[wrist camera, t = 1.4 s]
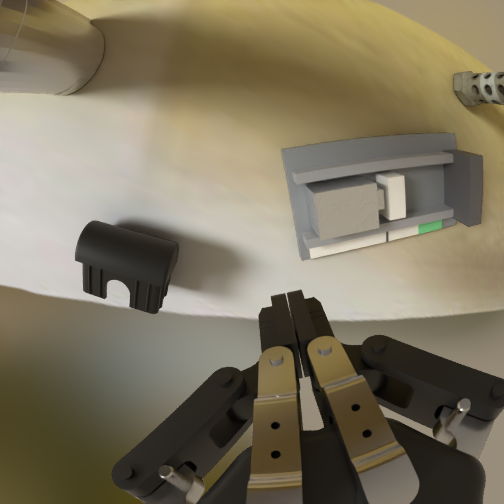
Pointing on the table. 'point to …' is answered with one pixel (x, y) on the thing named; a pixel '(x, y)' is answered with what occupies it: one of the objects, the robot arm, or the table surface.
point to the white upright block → (392, 194)
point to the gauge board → (366, 165)
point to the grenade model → (479, 88)
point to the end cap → (126, 263)
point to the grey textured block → (344, 206)
